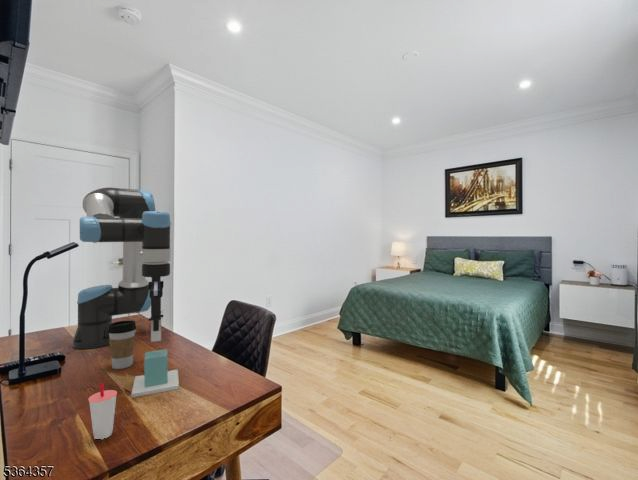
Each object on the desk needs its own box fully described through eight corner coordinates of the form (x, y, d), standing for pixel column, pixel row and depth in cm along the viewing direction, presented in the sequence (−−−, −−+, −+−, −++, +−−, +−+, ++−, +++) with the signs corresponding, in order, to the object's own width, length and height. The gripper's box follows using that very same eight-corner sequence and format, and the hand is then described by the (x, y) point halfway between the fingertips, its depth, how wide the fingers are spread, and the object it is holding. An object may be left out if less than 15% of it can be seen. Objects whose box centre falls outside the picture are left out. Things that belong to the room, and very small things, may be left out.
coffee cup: (122, 371, 103) (122, 326, 103) (101, 369, 104) (101, 324, 104) (142, 361, 111) (142, 319, 111) (121, 359, 113) (121, 318, 112)
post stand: (135, 379, 97) (135, 354, 97) (177, 372, 103) (177, 348, 102) (131, 397, 86) (131, 369, 86) (178, 388, 92) (178, 361, 92)
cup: (82, 439, 69) (82, 385, 69) (106, 425, 74) (106, 375, 74) (99, 445, 67) (99, 389, 67) (122, 430, 72) (122, 379, 72)
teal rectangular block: (145, 378, 96) (145, 352, 96) (167, 375, 98) (167, 349, 98) (144, 387, 90) (144, 359, 90) (167, 383, 93) (167, 355, 93)
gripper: (143, 261, 98) (143, 335, 99) (140, 265, 86) (140, 349, 87) (169, 260, 101) (169, 332, 102) (170, 264, 90) (169, 345, 90)
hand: (156, 340), depth 95 cm, fingers closed
